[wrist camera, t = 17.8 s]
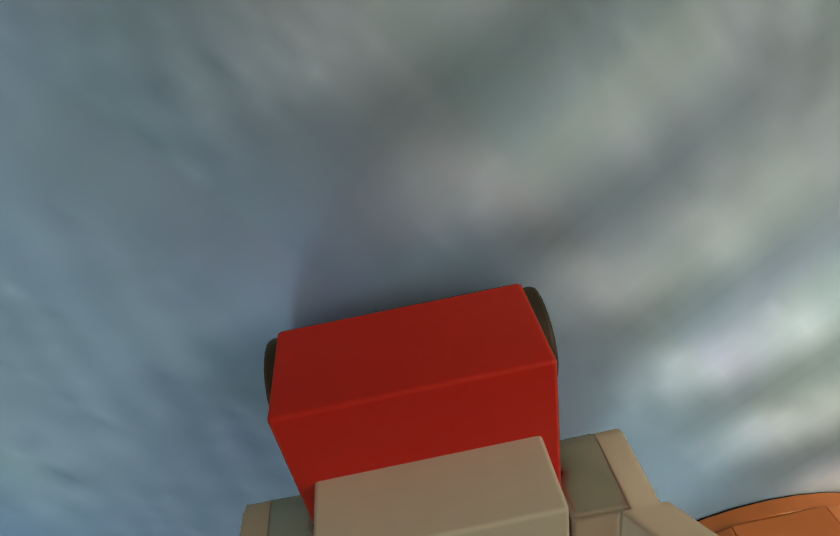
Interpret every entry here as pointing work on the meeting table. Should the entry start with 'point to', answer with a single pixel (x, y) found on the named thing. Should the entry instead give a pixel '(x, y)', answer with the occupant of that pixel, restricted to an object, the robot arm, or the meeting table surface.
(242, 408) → the meeting table surface
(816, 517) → the pot
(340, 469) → the car
